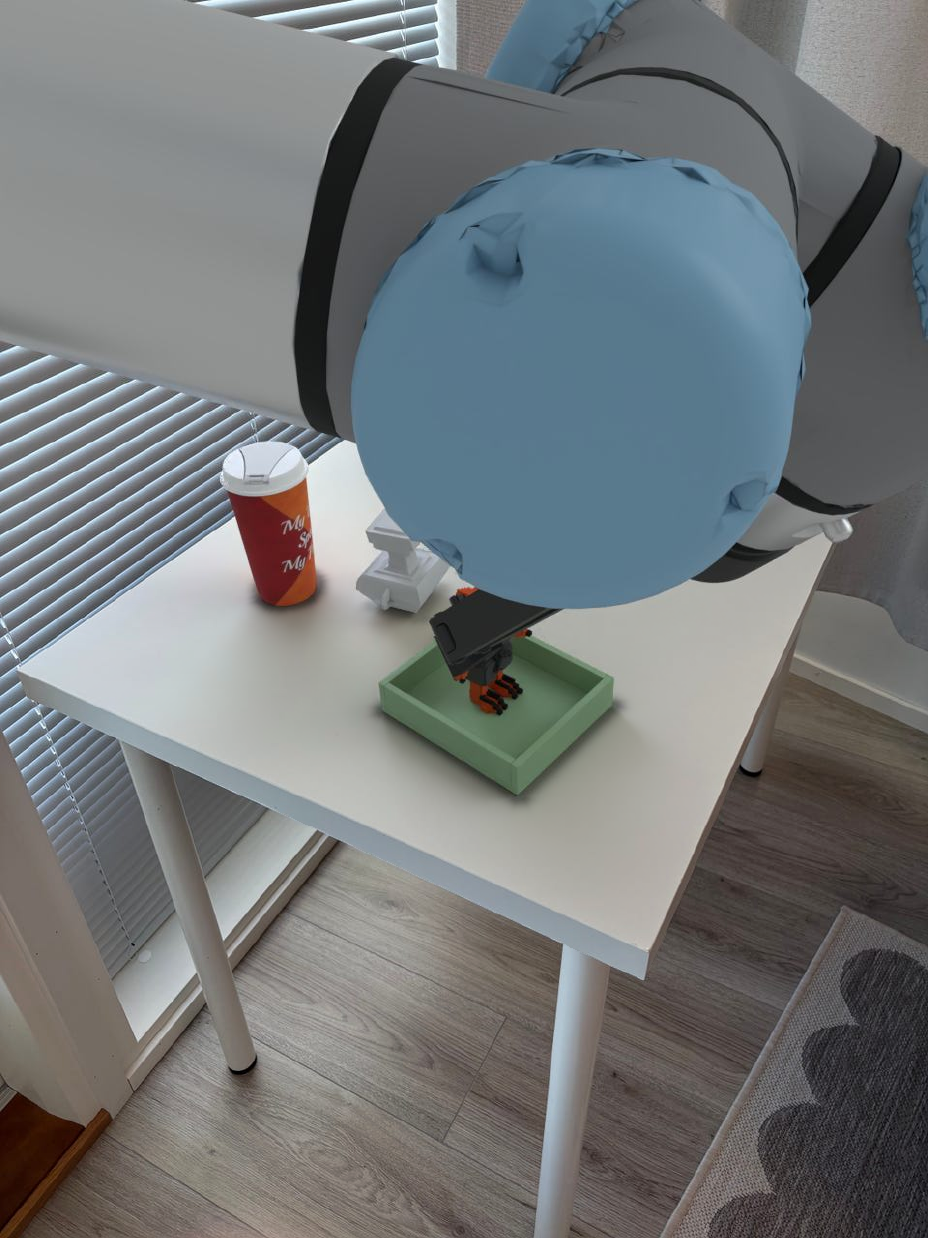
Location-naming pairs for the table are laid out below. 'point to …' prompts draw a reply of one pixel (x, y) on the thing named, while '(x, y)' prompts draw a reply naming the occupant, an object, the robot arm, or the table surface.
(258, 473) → the paper cup
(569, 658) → the tray
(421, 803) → the table surface
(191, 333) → the robot arm
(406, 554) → the stamp
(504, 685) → the toy animal
